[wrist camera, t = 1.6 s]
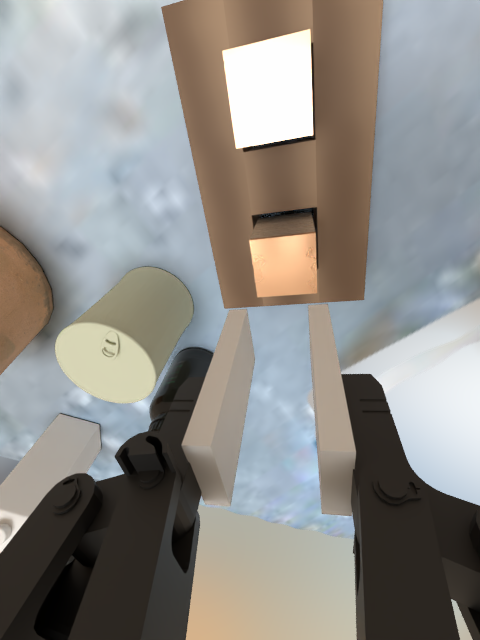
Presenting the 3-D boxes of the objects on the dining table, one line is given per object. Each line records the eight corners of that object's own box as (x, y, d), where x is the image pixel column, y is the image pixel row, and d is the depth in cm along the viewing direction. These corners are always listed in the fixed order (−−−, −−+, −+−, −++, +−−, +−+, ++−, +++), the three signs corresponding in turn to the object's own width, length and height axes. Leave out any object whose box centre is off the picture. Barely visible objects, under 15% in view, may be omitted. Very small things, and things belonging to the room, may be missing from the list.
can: (204, 287, 34) (166, 355, 24) (181, 345, 39) (141, 421, 29) (126, 252, 33) (52, 307, 23) (113, 316, 38) (47, 383, 28)
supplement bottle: (233, 376, 40) (213, 458, 30) (194, 391, 43) (164, 471, 33) (204, 338, 37) (171, 415, 27) (164, 357, 40) (120, 433, 30)
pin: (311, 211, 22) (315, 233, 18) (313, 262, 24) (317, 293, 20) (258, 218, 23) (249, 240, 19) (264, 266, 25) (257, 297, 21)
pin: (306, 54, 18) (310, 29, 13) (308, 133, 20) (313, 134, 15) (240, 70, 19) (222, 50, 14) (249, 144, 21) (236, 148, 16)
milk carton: (102, 447, 54) (23, 578, 39) (64, 437, 54) (-30, 564, 39) (100, 423, 50) (11, 558, 35) (59, 412, 50) (-48, 542, 35)
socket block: (363, -12, 20) (387, -60, 15) (352, 271, 30) (363, 299, 25) (191, 34, 22) (161, 7, 17) (235, 280, 32) (224, 308, 27)
